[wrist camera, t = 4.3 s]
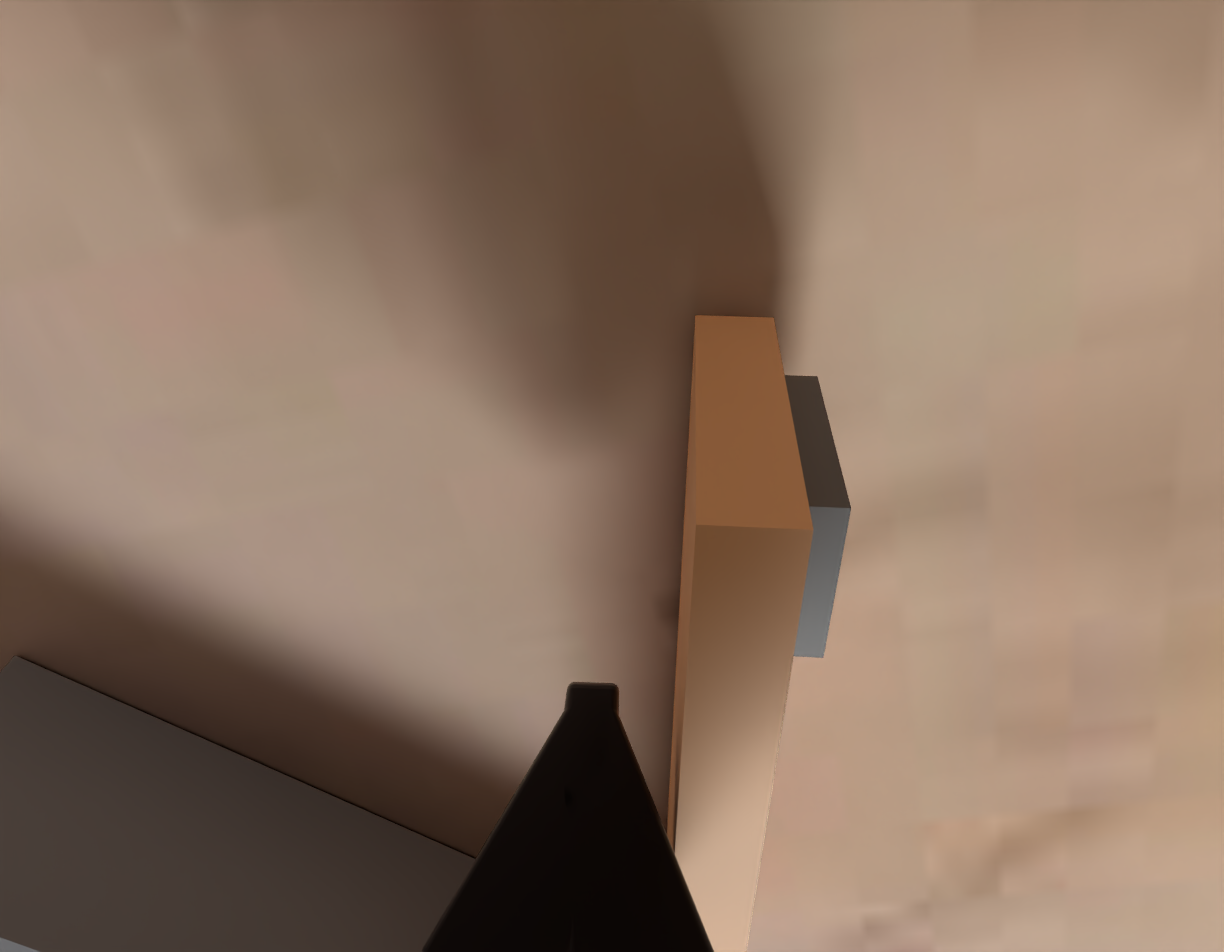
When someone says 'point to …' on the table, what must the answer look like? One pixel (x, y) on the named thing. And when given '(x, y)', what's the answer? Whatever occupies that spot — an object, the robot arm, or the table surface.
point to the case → (188, 841)
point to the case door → (745, 602)
